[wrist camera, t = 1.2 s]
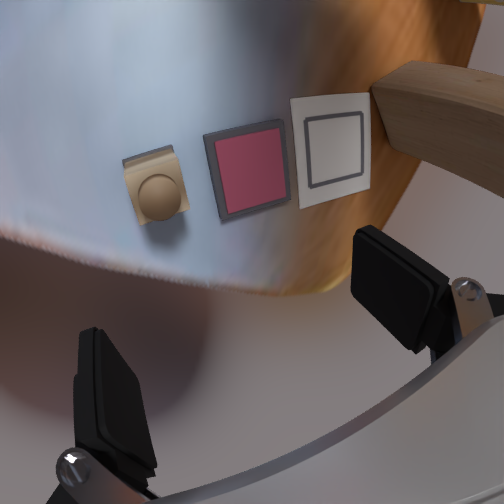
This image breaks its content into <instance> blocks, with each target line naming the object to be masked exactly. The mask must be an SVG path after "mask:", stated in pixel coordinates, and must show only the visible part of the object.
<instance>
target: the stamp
mask: <svg viewBox="0 0 504 504" xmlns="http://www.w3.org/2000/svg"><path fill="white" fill-rule="evenodd" d="M122 162H123V166H124V179H125V182H126V185H127V188H128V191H129V194H130V197H131V201H132V204H133V207H134V209H135V212H136V215H137V218H138V221H139V224H140V226H141V225H143V224H146V223H149V222H152V221H163V220H167V219H169V218H171V217H172V216H173V215H175V214H177V213H180V212H183V211H186V210H189V209H190V206H189V202H188V198H187V194H186V190H185V186H184V182H183V178H182V174H181V169H180V165H179V161H178V158H177V157H176V155H175V154H174V150H173V146H172V145H168V146H164V147H161V148H158V149H154V150H151V151H148V152H145V153H142V154H139V155H136V156H133V157H130V158H127V159H124V160H122Z"/></svg>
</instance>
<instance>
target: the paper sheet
mask: <svg viewBox="0 0 504 504" xmlns="http://www.w3.org/2000/svg"><path fill="white" fill-rule="evenodd" d="M290 106H291V115H292V125H293V136H294V146H295V158H296V170H297V183H298V197H299V209H303V208H306V207H309V206H313V205H316V204H319V203H323V202H326V201H329V200H333V199H336V198H339V197H343V196H346V195H349V194H353V193H356V192H360V191H363V190H367V189H370V169H371V114H370V93H347V94H332V95H320V96H310V97H301V98H292V99H290Z"/></svg>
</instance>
